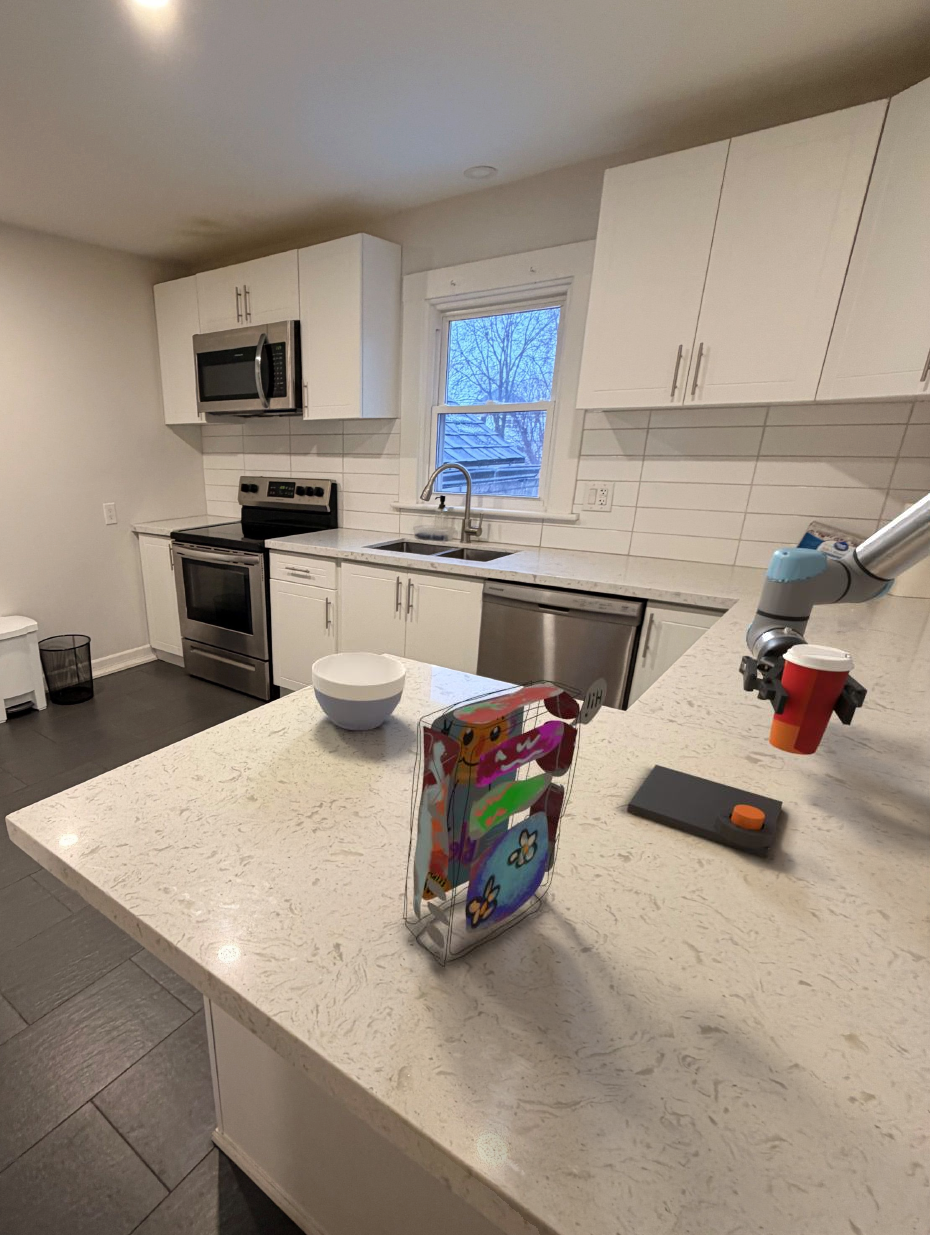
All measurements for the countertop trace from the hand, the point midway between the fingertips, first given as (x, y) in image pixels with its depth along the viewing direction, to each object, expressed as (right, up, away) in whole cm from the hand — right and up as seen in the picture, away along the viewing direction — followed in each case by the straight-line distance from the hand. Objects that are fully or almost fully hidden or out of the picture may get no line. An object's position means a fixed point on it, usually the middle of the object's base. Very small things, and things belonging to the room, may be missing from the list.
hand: (815, 710), depth 84 cm
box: (-44, -21, -14) cm, 51 cm away
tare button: (-12, -14, -5) cm, 19 cm away
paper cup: (+2, -5, +7) cm, 9 cm away
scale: (-13, -14, +3) cm, 19 cm away
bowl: (-58, -2, +28) cm, 65 cm away
